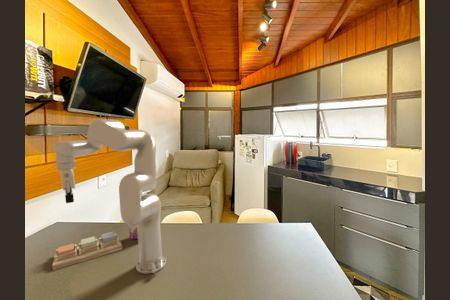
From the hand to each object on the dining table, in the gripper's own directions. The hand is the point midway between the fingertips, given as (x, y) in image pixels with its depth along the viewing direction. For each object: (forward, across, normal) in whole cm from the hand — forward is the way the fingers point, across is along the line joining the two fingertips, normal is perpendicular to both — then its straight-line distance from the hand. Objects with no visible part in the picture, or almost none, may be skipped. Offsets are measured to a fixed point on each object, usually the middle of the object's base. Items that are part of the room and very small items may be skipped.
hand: (69, 202), depth 111 cm
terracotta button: (+22, -8, +3) cm, 24 cm away
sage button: (+22, -8, -6) cm, 24 cm away
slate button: (+22, -8, -15) cm, 27 cm away
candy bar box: (+25, -8, -31) cm, 41 cm away
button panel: (+25, -8, -6) cm, 27 cm away
